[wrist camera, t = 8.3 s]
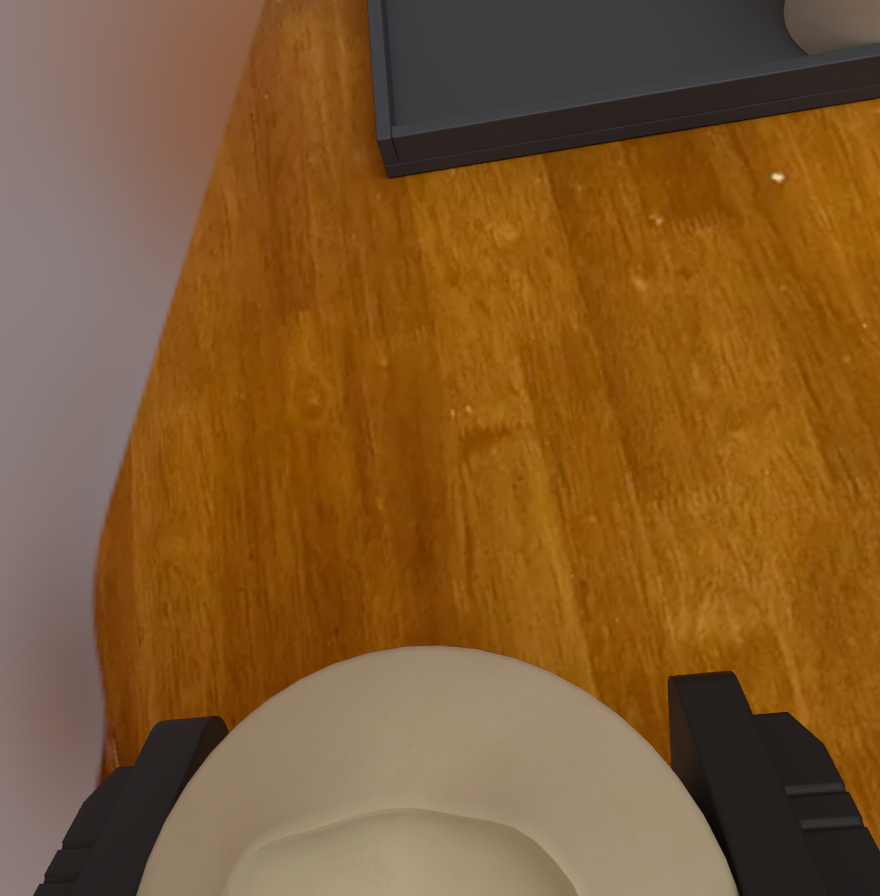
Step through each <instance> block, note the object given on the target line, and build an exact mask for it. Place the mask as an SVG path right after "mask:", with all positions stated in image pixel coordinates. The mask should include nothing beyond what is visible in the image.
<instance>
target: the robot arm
mask: <svg viewBox="0 0 880 896" xmlns="http://www.w3.org/2000/svg"><path fill="white" fill-rule="evenodd" d="M668 703H669V725H670V747H671V768H672V770H673V772H674V773H675V774H676V775H677V776H678V778H679V779H680V781H681V782H682V784H683V785H684V787H685V788H686V790H687V791H688V793H689V794H690V796H691V797H692V799H693V800H694V802H695V803H696V805H697V806H698V808H699V809H700V810H701V812H702V813H703V815H704V817H705V819H706V821H707V823H708V825H709V827H710V829H711V830H712V832H713V834H714V836H715V838H716V840H717V842H718V844H719V846H720V848H721V850H722V852H723V854H724V856H725V858H726V860H727V863H728V866H729V868H730V871H731V874H732V876H733V879H734V882H735V884H736V887H737V890H738V892H739V895H740V896H880V851H879V849H878V847H877V845H876V843H875V841H874V840H873V838H872V836H871V834H870V832H869V830H868V828H867V827H864V825H863V821H862V817H861V815H860V813H859V811H858V809H857V807H856V805H855V803H854V801H853V799H852V797H851V795H850V794H849V792H846V790H845V784H844V782H843V780H842V778H841V776H840V774H839V772H838V771H837V769H836V767H835V765H834V763H833V761H832V759H831V757H830V755H829V753H828V751H827V749H826V748H825V746H824V744H823V743H822V742H821V741H820V740H819V739H817V738H816V737H815V736H814V735H813V734H812V733H811V732H810V731H808V730H807V729H806V728H805V727H804V726H803V725H802V724H801V723H799V722H798V721H797V720H796V719H795V718H794V717H793V716H791V715H790V714H789V713H788V712H780V713H769V714H757V715H753V714H752V711H751V709H750V707H749V704H748V702H747V700H746V697H745V695H744V693H743V691H742V688H741V686H740V684H739V681H738V679H737V677H736V676H735V674H734V673H733V672H732V671H721V672H710V673H698V674H687V675H676V676H669V679H668ZM228 734H229V732H228V729H227V727H226V724H225V722H224V721H223V719H222V718H221V717H219V716H209V717H198V718H187V719H176V720H165V721H160V722H158V723H157V724H156V725H155V726H154V727H153V729H152V730H151V732H150V734H149V736H148V738H147V740H146V742H145V744H144V746H143V748H142V750H141V752H140V754H139V756H138V758H137V760H136V762H135V764H134V766H130V767H118V768H116V769H115V770H114V772H113V773H112V774H111V775H110V776H109V777H108V778H107V779H106V780H105V781H104V782H103V783H102V784H101V785H100V786H99V787H98V788H97V789H96V790H95V791H94V792H93V793H92V794H91V795H90V796H89V797H88V798H87V799H86V801H84V803H83V805H82V806H81V808H80V810H79V812H78V814H77V815H76V817H75V819H74V821H73V823H72V825H71V827H70V828H69V830H68V832H67V834H66V836H65V838H64V840H63V841H62V843H63V846H62V850H58V851H57V853H56V855H55V856H54V858H53V860H52V862H51V864H50V866H49V867H48V869H47V871H46V873H45V875H44V876H45V881H44V883H43V884H39V886H38V888H37V890H36V891H35V893H34V895H33V896H136V895H137V891H138V888H139V885H140V882H141V879H142V876H143V873H144V870H145V867H146V864H147V861H148V858H149V856H150V854H151V852H152V849H153V847H154V845H155V843H156V840H157V838H158V836H159V834H160V832H161V829H162V827H163V825H164V823H165V821H166V819H167V817H168V816H169V814H170V812H171V810H172V809H173V807H174V805H175V804H176V802H177V800H178V799H179V797H180V795H181V793H182V792H183V790H184V788H185V787H186V785H187V784H188V782H189V781H190V780H191V778H192V777H193V776H194V774H195V773H196V772H197V770H198V769H199V768H200V766H201V765H202V764H203V762H204V761H205V760H206V758H207V757H208V756H209V754H210V753H211V752H212V751H213V750H214V749H215V748H216V747H217V746H218V745H219V744H220V743H221V741H222V740H223V739H224V738H225V737H226V736H227V735H228Z"/></svg>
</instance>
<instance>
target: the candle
mask: <svg viewBox="0 0 880 896" xmlns="http://www.w3.org/2000/svg"><path fill="white" fill-rule="evenodd" d="M136 896H740V895H739V892H738V890H737V887H736V884H735V882H734V879H733V876H732V874H731V871H730V868H729V866H728V863H727V860H726V858H725V856H724V854H723V852H722V850H721V848H720V846H719V844H718V842H717V840H716V838H715V836H714V834H713V832H712V830H711V829H710V827H709V825H708V823H707V821H706V819H705V817H704V815H703V813H702V812H701V810H700V809H699V808H698V806H697V805H696V803H695V802H694V800H693V799H692V797H691V796H690V794H689V793H688V791H687V790H686V788H685V787H684V785H683V784H682V782H681V781H680V779H679V778H678V776H677V775H676V774H675V773H674V772H673V770H672V769H671V768H670V767H669V766H668V765H667V763H666V762H665V761H664V760H663V759H662V758H661V756H660V755H659V754H658V753H657V752H656V750H655V749H654V748H653V747H652V746H651V745H650V743H648V742H647V741H646V740H645V739H644V738H643V737H642V736H641V735H640V734H639V733H638V732H637V731H635V730H634V729H633V728H632V727H631V726H630V725H629V724H628V723H627V722H626V721H625V720H623V719H622V718H621V717H620V716H619V715H618V714H617V713H615V712H614V711H612V710H611V709H610V708H608V707H607V706H605V705H604V704H603V703H601V702H600V701H598V700H597V699H596V698H594V697H593V696H592V695H590V694H589V693H587V692H586V691H584V690H583V689H581V688H579V687H577V686H575V685H573V684H571V683H570V682H568V681H566V680H564V679H562V678H560V677H559V676H557V675H555V674H553V673H551V672H549V671H546V670H544V669H541V668H539V667H536V666H533V665H531V664H528V663H526V662H523V661H520V660H518V659H515V658H512V657H507V656H503V655H499V654H495V653H491V652H486V651H482V650H478V649H469V648H459V647H449V646H417V647H401V648H395V649H389V650H383V651H378V652H372V653H367V654H364V655H360V656H357V657H354V658H351V659H348V660H345V661H341V662H338V663H335V664H332V665H330V666H328V667H326V668H324V669H321V670H319V671H317V672H315V673H313V674H311V675H309V676H306V677H304V678H302V679H300V680H298V681H297V682H295V683H294V684H292V685H290V686H289V687H287V688H286V689H284V690H282V691H281V692H279V693H278V694H276V695H275V696H273V697H271V698H270V699H268V700H267V701H266V702H264V703H263V704H262V705H261V706H260V707H258V708H257V709H256V710H255V711H253V712H252V713H251V714H250V715H249V716H247V717H246V718H245V719H244V720H243V721H241V722H240V723H239V724H238V725H237V726H236V727H235V728H234V729H233V730H232V731H231V732H230V733H229V734H228V735H227V736H226V737H225V738H224V739H223V740H222V741H221V743H220V744H219V745H218V746H217V747H216V748H215V749H214V750H213V751H212V752H211V753H210V754H209V756H208V757H207V758H206V760H205V761H204V762H203V764H202V765H201V766H200V768H199V769H198V770H197V772H196V773H195V774H194V776H193V777H192V778H191V780H190V781H189V782H188V784H187V785H186V787H185V788H184V790H183V792H182V793H181V795H180V797H179V799H178V800H177V802H176V804H175V805H174V807H173V809H172V810H171V812H170V814H169V816H168V817H167V819H166V821H165V823H164V825H163V827H162V829H161V832H160V834H159V836H158V838H157V840H156V843H155V845H154V847H153V849H152V852H151V854H150V856H149V858H148V861H147V864H146V867H145V870H144V873H143V876H142V879H141V882H140V885H139V888H138V891H137V895H136Z"/></svg>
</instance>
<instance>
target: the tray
mask: <svg viewBox="0 0 880 896" xmlns="http://www.w3.org/2000/svg"><path fill="white" fill-rule="evenodd" d="M784 4H785V0H367V6H368V20H369V35H370V49H371V64H372V79H373V93H374V108H375V122H376V137H377V143H378V146H379V149H380V152H381V156H382V159H383V162H384V164H385V168H386V172H387V175H388V177H396V176H402V175H408V174H414V173H420V172H426V171H432V170H439V169H445V168H451V167H457V166H463V165H469V164H475V163H481V162H487V161H493V160H500V159H506V158H512V157H518V156H524V155H530V154H536V153H542V152H548V151H554V150H561V149H567V148H573V147H579V146H585V145H591V144H597V143H603V142H609V141H615V140H621V139H628V138H634V137H640V136H646V135H652V134H658V133H664V132H670V131H676V130H682V129H689V128H695V127H701V126H707V125H713V124H719V123H725V122H731V121H737V120H743V119H750V118H756V117H762V116H768V115H774V114H780V113H786V112H792V111H798V110H804V109H811V108H817V107H823V106H829V105H835V104H841V103H847V102H853V101H859V100H865V99H872V98H878V97H880V43H877V44H871V45H865V46H859V47H854V48H848V49H842V50H836V51H830V52H824V53H818V54H812V55H808V54H807V53H806V52H804V51H803V50H802V49H801V48H800V47H799V46H798V45H797V44H796V43H795V42H794V40H793V39H792V37H791V36H790V34H789V32H788V30H787V28H786V25H785V20H784Z"/></svg>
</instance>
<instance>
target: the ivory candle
mask: <svg viewBox="0 0 880 896" xmlns="http://www.w3.org/2000/svg"><path fill="white" fill-rule="evenodd" d="M784 20H785V25H786V28H787V30H788V32H789V34H790V36H791V37H792V39H793V40H794V42H795V43H796V44H797V45H798V46H799V47H800V48H801V49H802V50H803V51H804V52H806V53H807V54H808V55H812V54H818V53H824V52H830V51H836V50H842V49H848V48H854V47H859V46H865V45H871V44H877V43H880V0H785V4H784Z"/></svg>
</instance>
